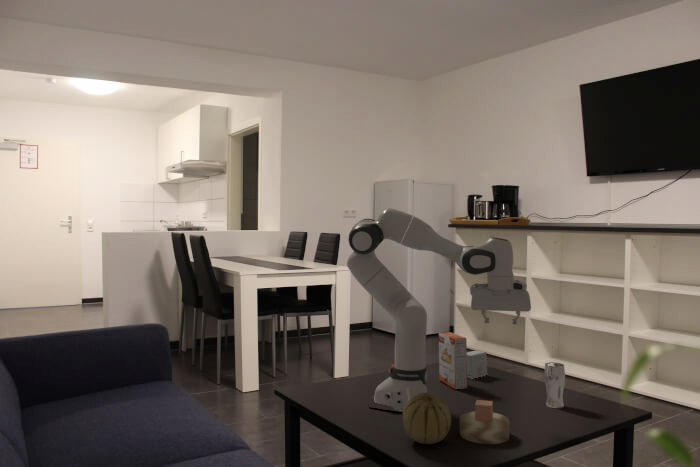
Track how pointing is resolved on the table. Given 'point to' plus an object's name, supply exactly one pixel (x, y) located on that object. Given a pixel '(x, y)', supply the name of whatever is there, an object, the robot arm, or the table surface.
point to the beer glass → (554, 384)
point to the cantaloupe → (427, 418)
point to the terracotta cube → (483, 411)
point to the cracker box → (453, 360)
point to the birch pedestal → (484, 429)
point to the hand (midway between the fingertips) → (500, 323)
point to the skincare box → (476, 364)
